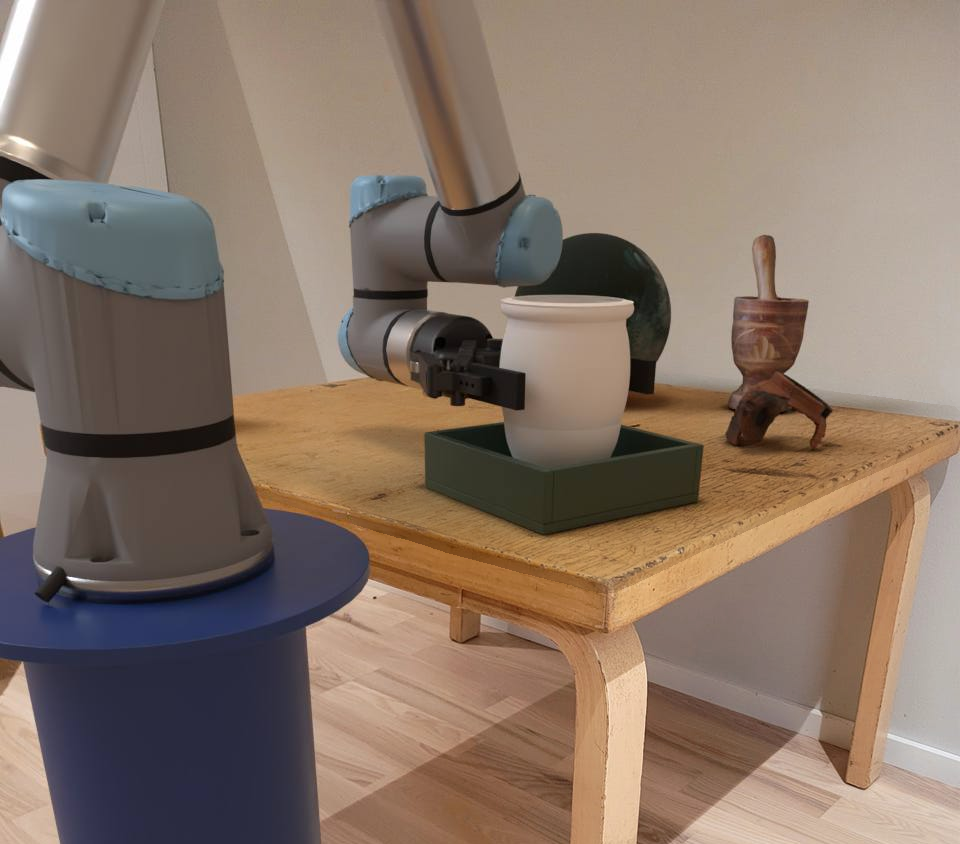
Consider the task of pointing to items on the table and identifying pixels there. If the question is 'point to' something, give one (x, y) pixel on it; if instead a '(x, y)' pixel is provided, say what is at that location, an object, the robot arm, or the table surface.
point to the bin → (562, 478)
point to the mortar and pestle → (765, 326)
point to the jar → (566, 376)
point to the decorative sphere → (614, 285)
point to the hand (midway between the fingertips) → (590, 384)
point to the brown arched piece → (776, 409)
